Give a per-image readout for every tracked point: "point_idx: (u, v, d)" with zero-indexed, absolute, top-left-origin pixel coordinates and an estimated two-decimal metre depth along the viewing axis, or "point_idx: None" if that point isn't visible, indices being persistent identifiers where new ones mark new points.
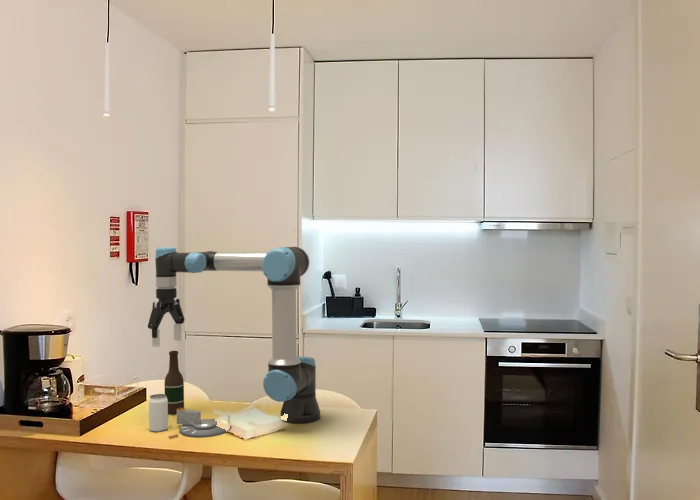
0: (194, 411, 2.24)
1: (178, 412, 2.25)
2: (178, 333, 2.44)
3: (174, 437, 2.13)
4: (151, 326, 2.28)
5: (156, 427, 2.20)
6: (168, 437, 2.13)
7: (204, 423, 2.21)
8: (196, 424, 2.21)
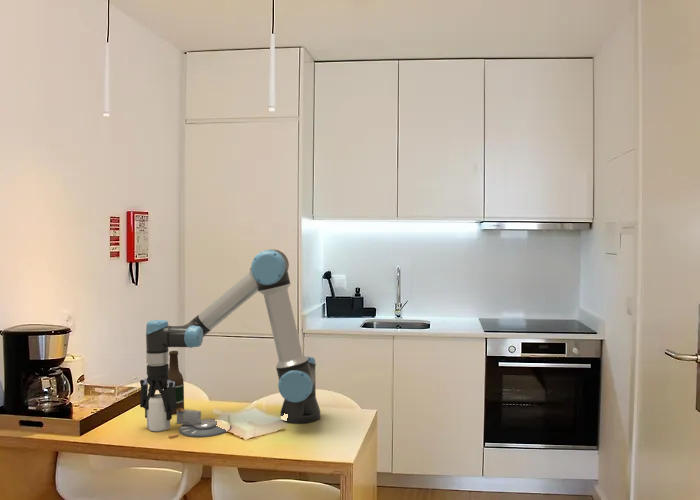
0: (194, 411, 2.24)
1: (178, 412, 2.25)
2: None
3: (174, 437, 2.13)
4: None
5: (156, 427, 2.20)
6: (168, 437, 2.13)
7: (204, 423, 2.21)
8: (196, 424, 2.21)
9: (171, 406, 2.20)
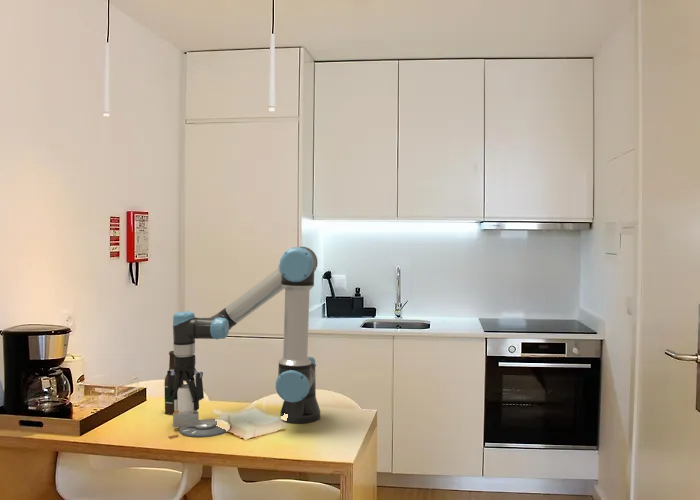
0: (192, 412, 2.22)
1: (175, 415, 2.20)
2: None
3: (174, 437, 2.13)
4: None
5: None
6: (168, 437, 2.13)
7: (205, 423, 2.22)
8: (198, 425, 2.20)
9: (198, 396, 2.22)
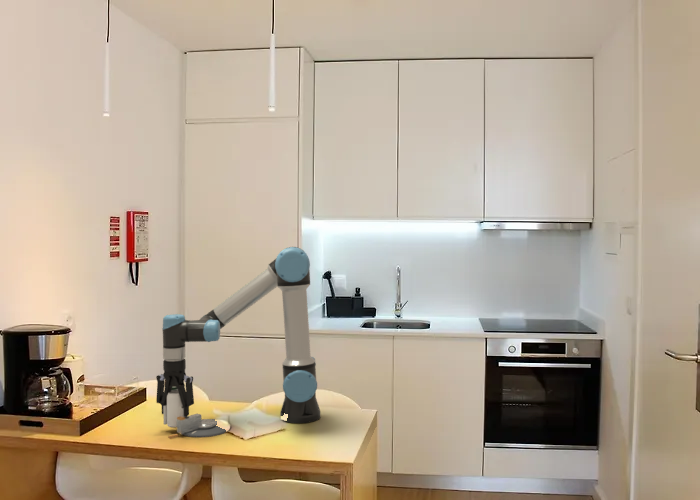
0: (195, 415, 2.19)
1: (183, 421, 2.14)
2: None
3: (174, 437, 2.13)
4: None
5: (176, 422, 2.17)
6: (168, 437, 2.13)
7: (207, 423, 2.22)
8: (205, 425, 2.19)
9: (188, 402, 2.16)
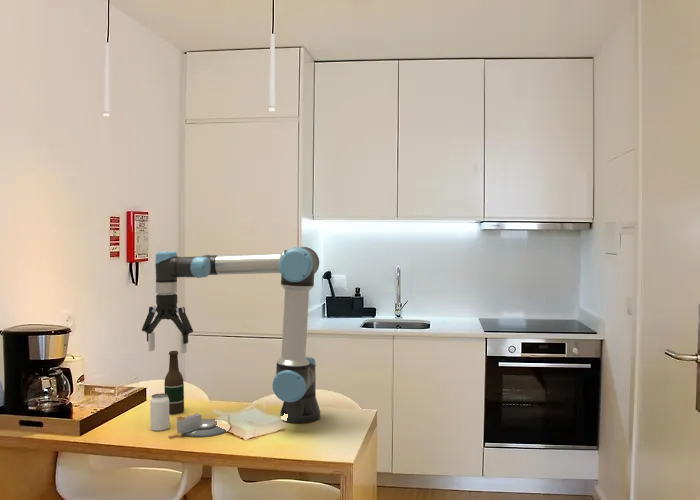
0: (195, 415, 2.19)
1: (183, 421, 2.14)
2: None
3: (174, 437, 2.13)
4: None
5: (159, 426, 2.20)
6: (168, 437, 2.13)
7: (207, 423, 2.22)
8: (205, 425, 2.19)
9: (187, 329, 2.24)
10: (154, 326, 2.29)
